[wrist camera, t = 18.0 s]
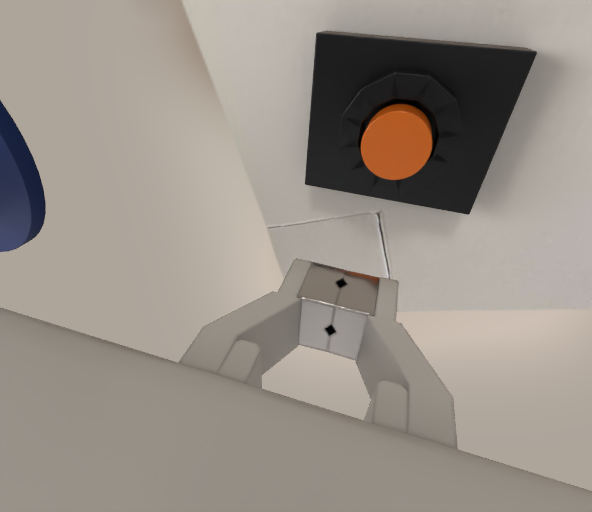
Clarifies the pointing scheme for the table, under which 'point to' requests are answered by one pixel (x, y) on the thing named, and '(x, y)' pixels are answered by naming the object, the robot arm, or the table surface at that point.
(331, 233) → the table surface
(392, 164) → the button
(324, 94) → the control block
